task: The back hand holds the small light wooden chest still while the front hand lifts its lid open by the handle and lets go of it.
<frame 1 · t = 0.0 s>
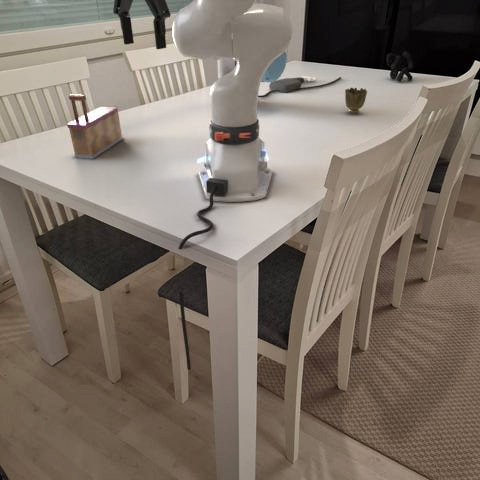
back hand: (144, 46, 118), 28 cm above the table, tool pointing down, fingers open, 13 cm apart
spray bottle: (293, 86, 194), on the table
cup: (353, 113, 159), on the table
squiggle: (399, 80, 200), on the table
chest: (100, 147, 133), on the table
lid: (91, 104, 126), point 13 cm above the table, hinge at 0.0°
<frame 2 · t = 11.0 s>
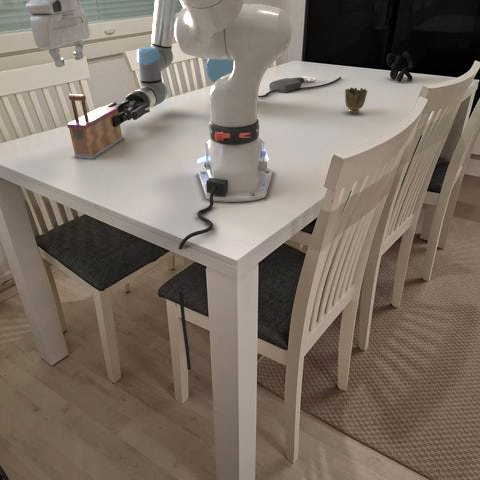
front hand: (70, 62, 115), 25 cm above the table, tool pointing down, fingers open, 8 cm apart
back hand: (104, 121, 134), 6 cm above the table, tool horizontal, fingers closed on chest, 6 cm apart
chest: (100, 147, 133), on the table, touching back hand
everything else where it was.
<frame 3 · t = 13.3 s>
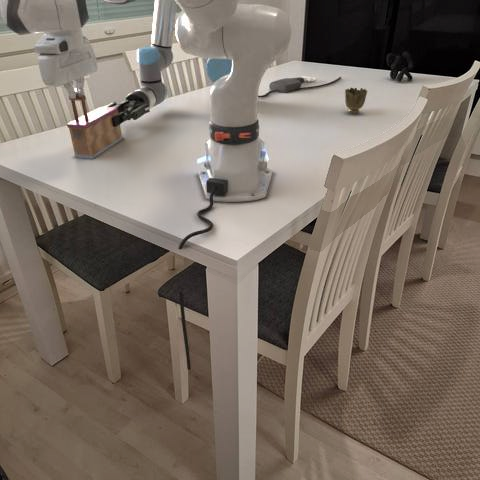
front hand: (77, 96, 120), 16 cm above the table, tool pointing down, fingers closed on lid
back hand: (104, 121, 134), 6 cm above the table, tool horizontal, fingers closed on chest, 6 cm apart
chest: (100, 147, 133), on the table, touching back hand
lid: (91, 104, 126), point 13 cm above the table, hinge at 0.1°, touching front hand
everything else where it was.
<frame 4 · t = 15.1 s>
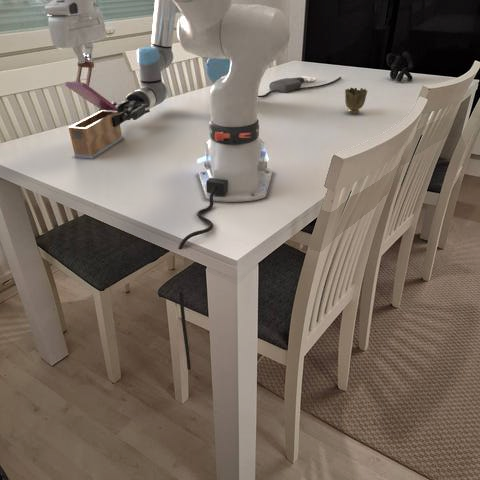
front hand: (85, 61, 122), 24 cm above the table, tool pointing down, fingers closed
back hand: (104, 121, 134), 6 cm above the table, tool horizontal, fingers closed on chest, 6 cm apart
chest: (99, 147, 133), on the table, touching back hand
lid: (95, 85, 127), point 17 cm above the table, hinge at 36.3°, touching front hand
everything else where it was.
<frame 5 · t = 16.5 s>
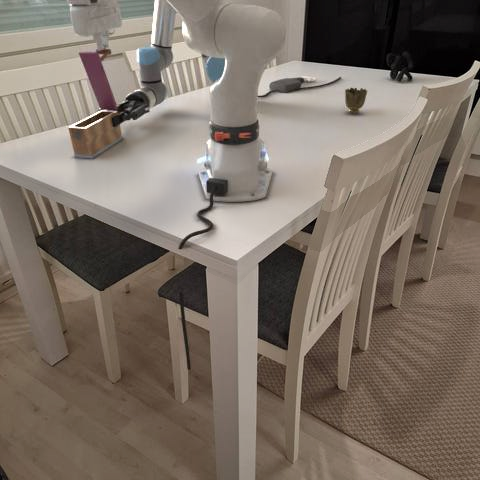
front hand: (103, 48, 129), 26 cm above the table, tool pointing down, fingers closed, pressing on lid
back hand: (104, 121, 134), 6 cm above the table, tool horizontal, fingers closed on chest, 6 cm apart
chest: (99, 147, 133), on the table, touching back hand
lid: (104, 75, 131), point 19 cm above the table, hinge at 73.0°, touching front hand
everything else where it was.
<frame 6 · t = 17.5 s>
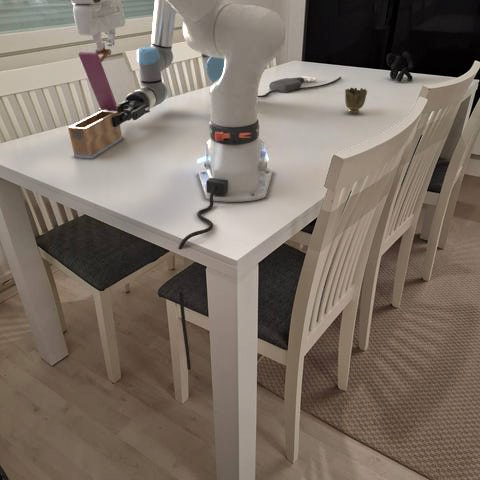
front hand: (106, 47, 130), 26 cm above the table, tool pointing down, fingers open, 4 cm apart
back hand: (104, 121, 134), 6 cm above the table, tool horizontal, fingers closed on chest, 6 cm apart
chest: (99, 147, 133), on the table, touching back hand
lid: (104, 75, 131), point 19 cm above the table, hinge at 71.7°, touching front hand
everything else where it was.
when the back hand's fingers open (6 cm above the table, at t = 21.0 s): chest stays where it is, on the table.
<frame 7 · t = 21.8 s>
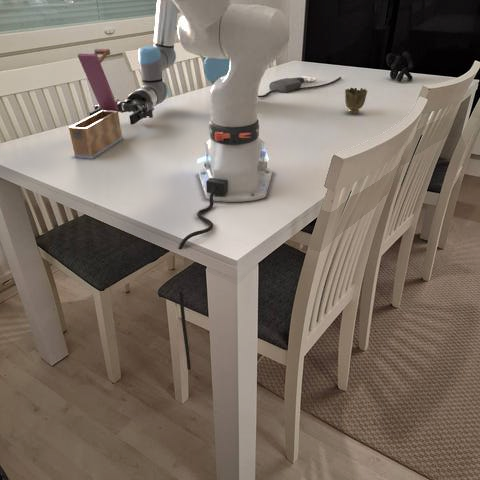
front hand: (80, 1, 116), 39 cm above the table, tool pointing down, fingers open, 8 cm apart
back hand: (110, 118, 136), 6 cm above the table, tool horizontal, fingers open, 13 cm apart
chest: (100, 147, 133), on the table
lid: (104, 76, 130), point 19 cm above the table, hinge at 69.0°
everything else where it was.
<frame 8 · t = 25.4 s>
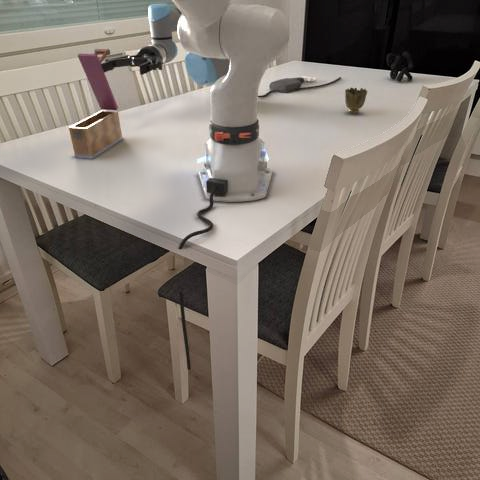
front hand: (80, 1, 116), 39 cm above the table, tool pointing down, fingers open, 8 cm apart
back hand: (121, 69, 139), 19 cm above the table, tool horizontal, fingers open, 13 cm apart
nothing on the table moved.
at the end: lid at +69° (first picture: +0°); the front hand is holding nothing; the back hand is holding nothing; chest tilted 0°; chest never tilted more than 1° during the clip; chest moved 0.0 cm from its start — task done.
